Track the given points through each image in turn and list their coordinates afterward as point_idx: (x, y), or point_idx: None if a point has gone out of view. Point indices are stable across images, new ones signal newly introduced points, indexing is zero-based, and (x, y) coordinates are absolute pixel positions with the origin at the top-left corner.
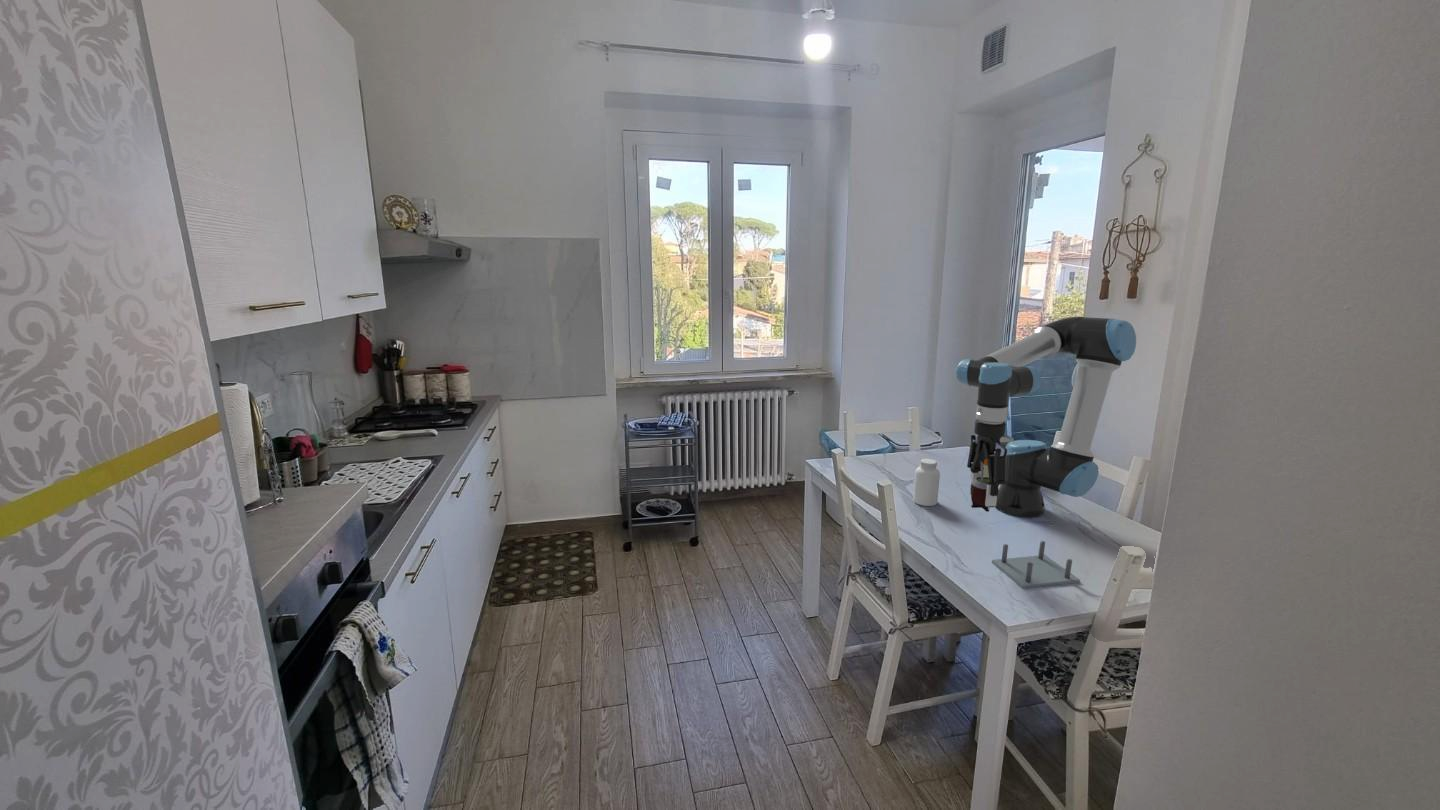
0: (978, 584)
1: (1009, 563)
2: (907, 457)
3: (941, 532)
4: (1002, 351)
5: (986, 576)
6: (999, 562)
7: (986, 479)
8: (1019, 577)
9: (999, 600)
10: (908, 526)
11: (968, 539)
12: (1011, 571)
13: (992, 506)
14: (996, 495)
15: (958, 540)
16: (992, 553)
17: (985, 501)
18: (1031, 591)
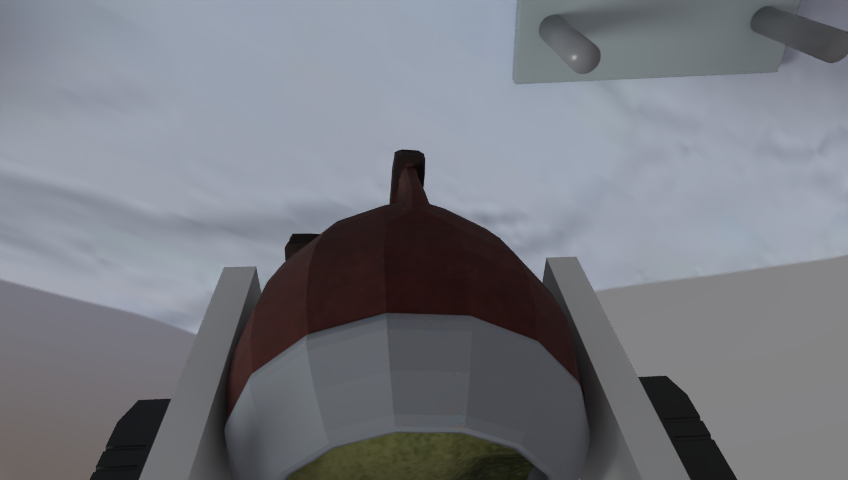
0: (659, 234)
1: (576, 5)
2: None
3: (142, 175)
4: None
5: (618, 173)
6: (552, 59)
7: (351, 478)
8: (716, 43)
9: (784, 215)
10: (88, 299)
11: (228, 64)
12: (651, 48)
13: (423, 174)
14: (667, 386)
15: (243, 128)
16: (415, 13)
17: None
18: None
